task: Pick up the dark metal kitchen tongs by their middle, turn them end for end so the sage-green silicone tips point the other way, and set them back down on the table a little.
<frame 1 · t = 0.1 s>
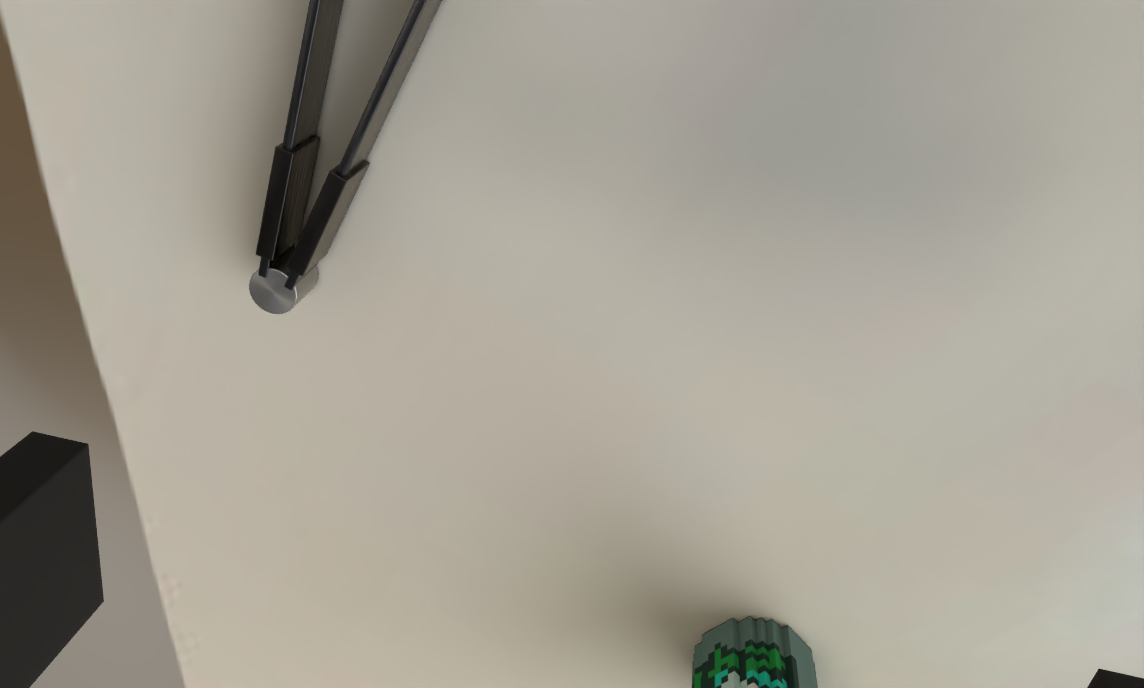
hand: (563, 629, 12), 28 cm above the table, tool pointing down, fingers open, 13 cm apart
can: (752, 659, 49), on the table
tongs: (294, 275, 42), on the table
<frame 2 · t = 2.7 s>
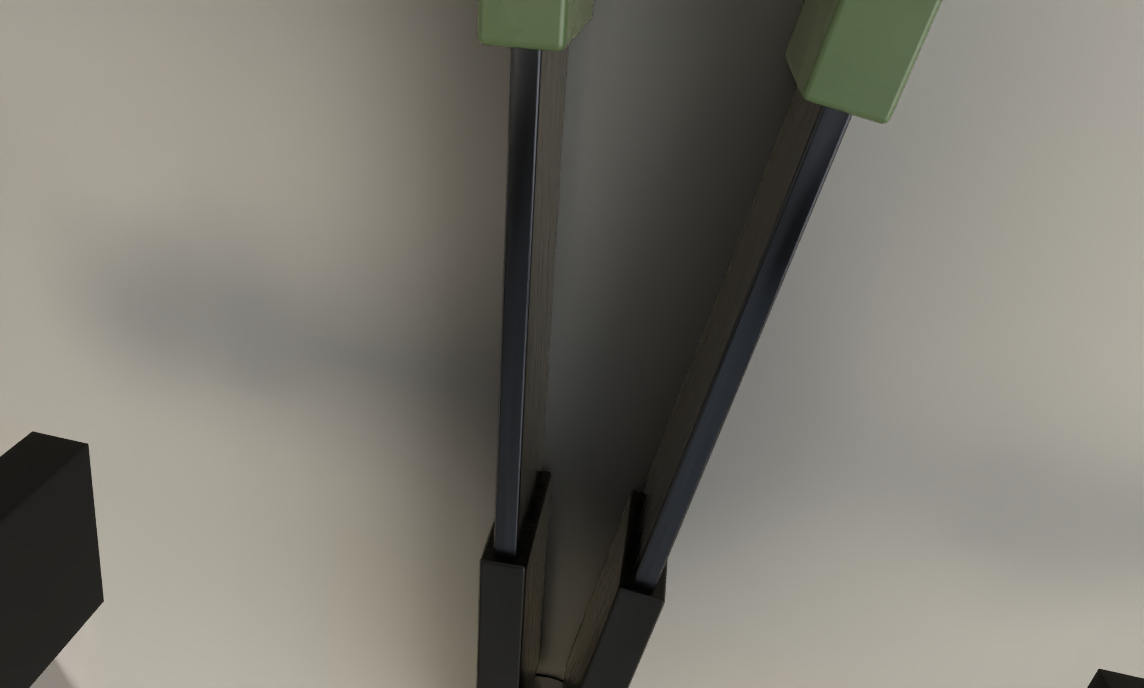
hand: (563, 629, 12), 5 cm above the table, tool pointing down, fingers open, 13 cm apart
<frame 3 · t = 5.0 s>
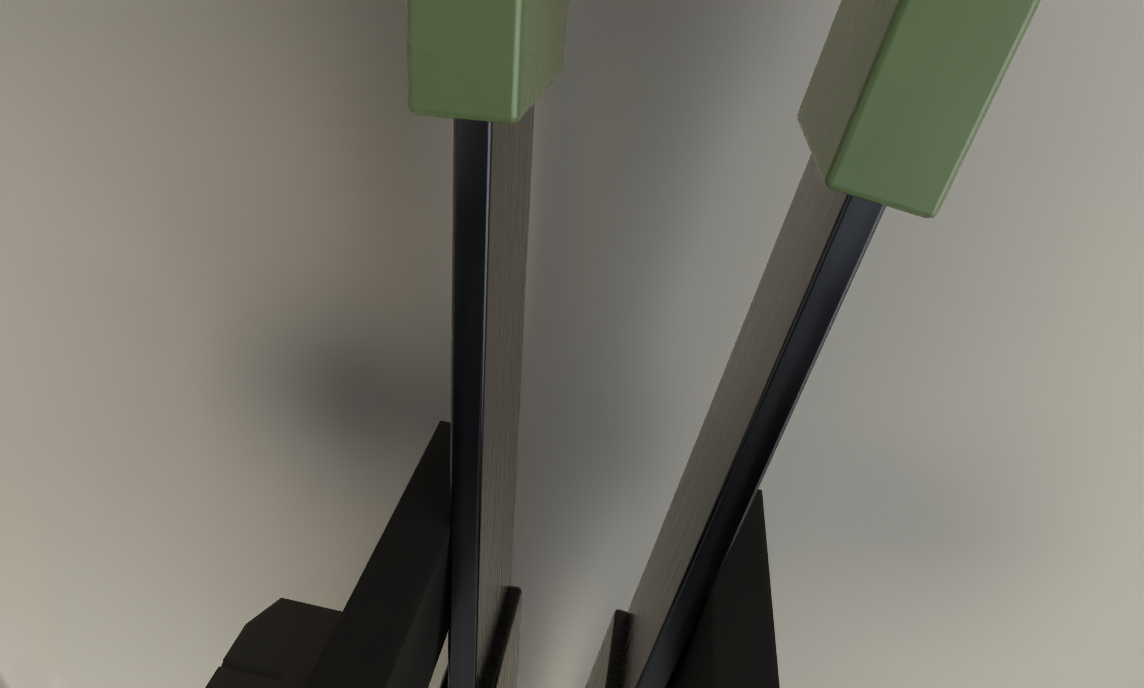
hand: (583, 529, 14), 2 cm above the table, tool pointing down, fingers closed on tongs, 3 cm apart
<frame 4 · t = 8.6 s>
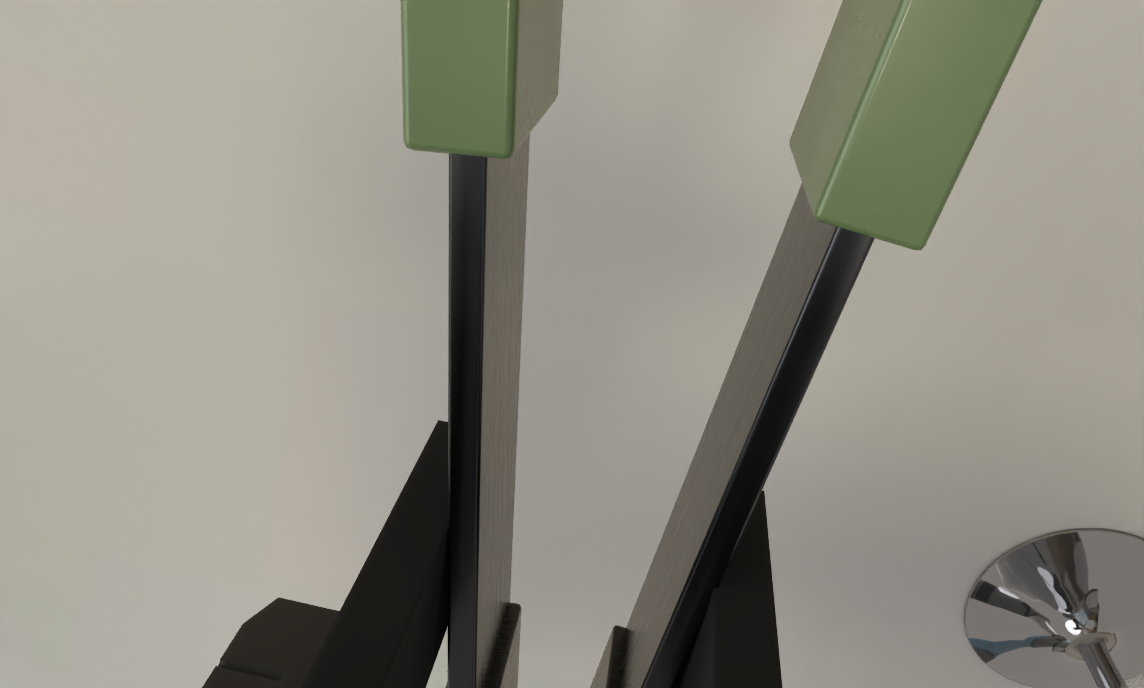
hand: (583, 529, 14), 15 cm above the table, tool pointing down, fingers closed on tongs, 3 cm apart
wine glass: (1072, 609, 31), on the table
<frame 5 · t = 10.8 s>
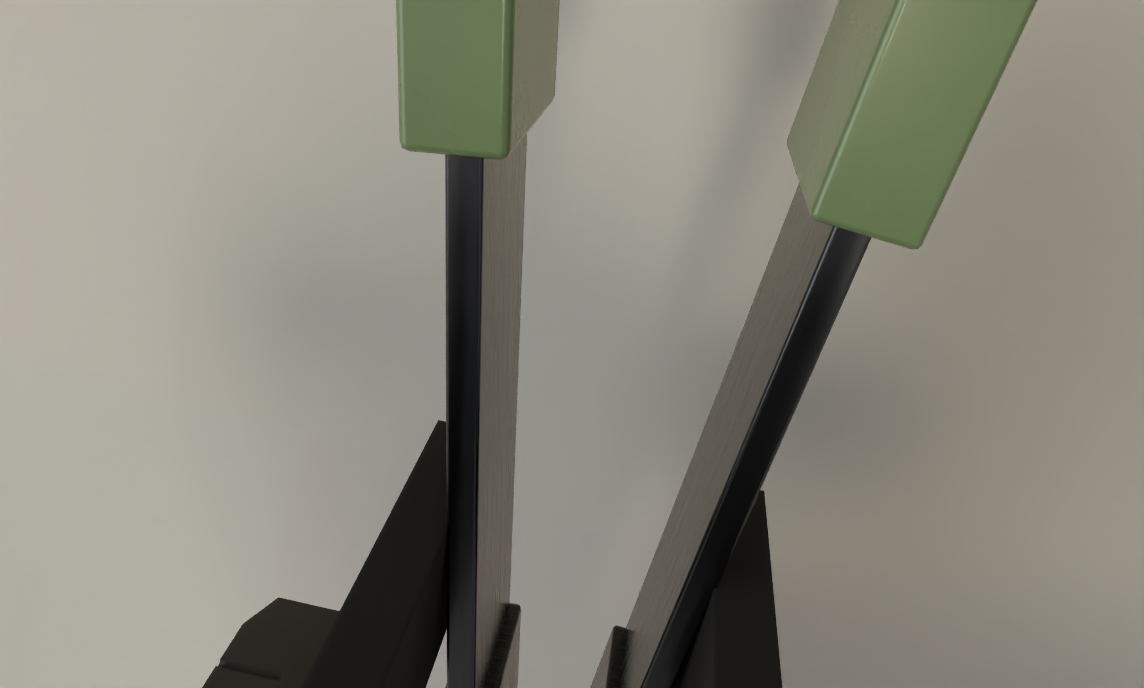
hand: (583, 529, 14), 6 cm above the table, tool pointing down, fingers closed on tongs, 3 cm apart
when the fingers open (0 cm above the table, at t = 12.5 s): tongs stays where it is, on the table.
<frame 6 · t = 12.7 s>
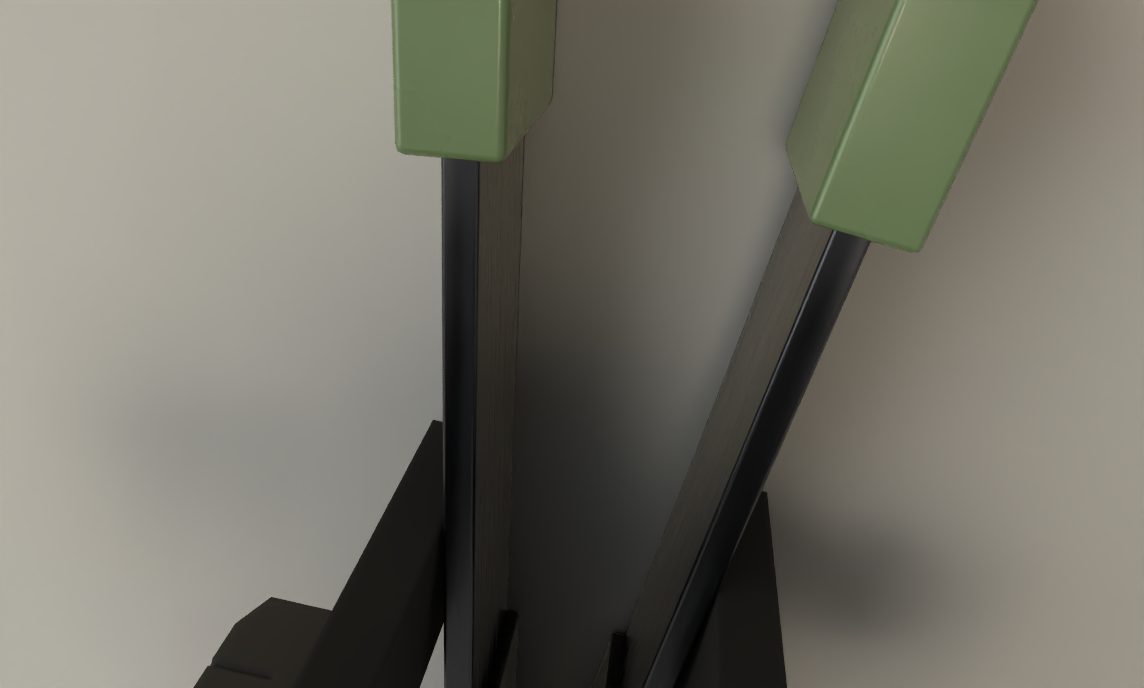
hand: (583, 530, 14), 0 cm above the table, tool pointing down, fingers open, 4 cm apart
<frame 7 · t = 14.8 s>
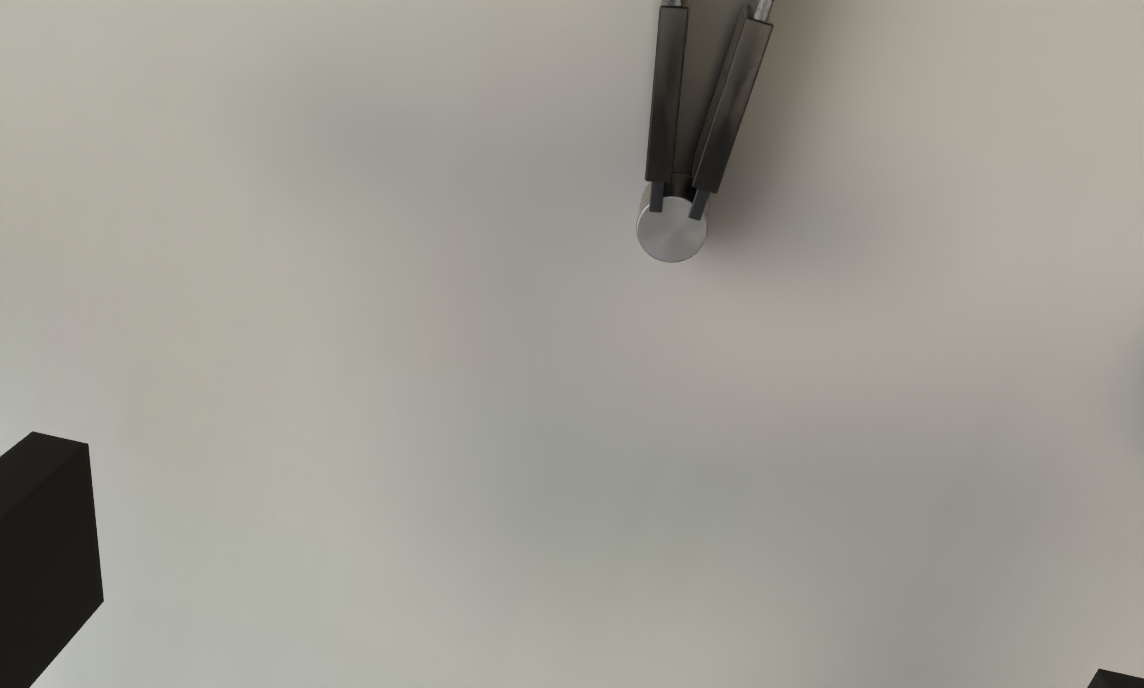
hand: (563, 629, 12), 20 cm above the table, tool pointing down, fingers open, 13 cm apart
tongs: (672, 212, 30), on the table
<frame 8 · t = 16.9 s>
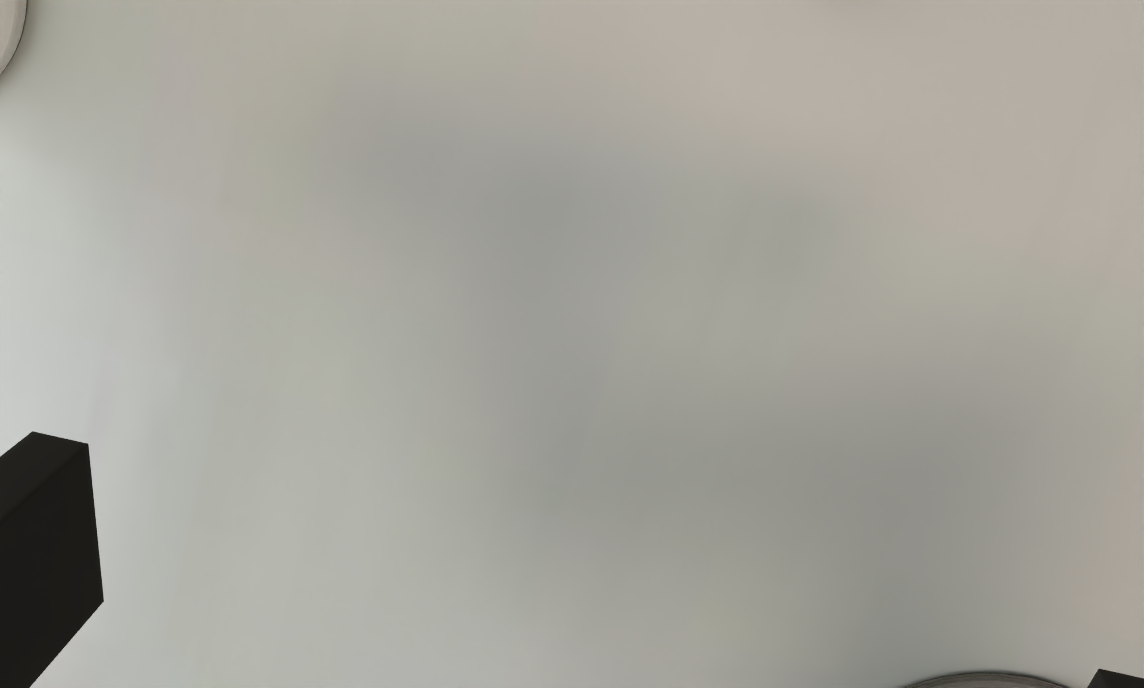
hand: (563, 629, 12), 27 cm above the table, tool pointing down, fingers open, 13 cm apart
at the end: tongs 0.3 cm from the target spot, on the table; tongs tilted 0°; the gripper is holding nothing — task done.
